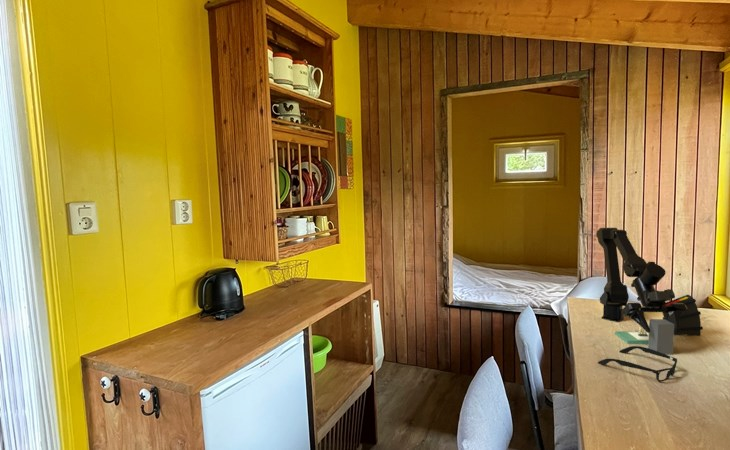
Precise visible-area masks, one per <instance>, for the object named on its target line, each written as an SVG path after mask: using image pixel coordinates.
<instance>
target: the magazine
mask: <svg viewBox="0 0 730 450" xmlns="http://www.w3.org/2000/svg"><path fill="white" fill-rule="evenodd" d="M665 302H666V303H665V304H664V305H662V306H663V307H668V306H669V305H670V304H671V303H683V304H685V305H686V307H687V309H688V310H687V311H686V312H685V313H684V314H682V315H681V316H680V322H679V323H680V332H679V333H676V331H675V330H674V335H675V336H696V337H697V336H699V337H701V336H702V333H701V331H703V330H704V327H703V326H702V325H701V317H700V316H701V315H702V313H701V311H699V309H698V306H697V304H696V302H697V299H696V298H694V297H693V296H692V295H690V294H686V295H682V296H680V297H678V298H673V299H671V301H669V300H668V301H665ZM661 313H662V315H663V316H662V319H665V320H667V321H669V320H668V317H669V316H668V315H667V314H666V312H661ZM669 322H670V321H669Z"/></svg>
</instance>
